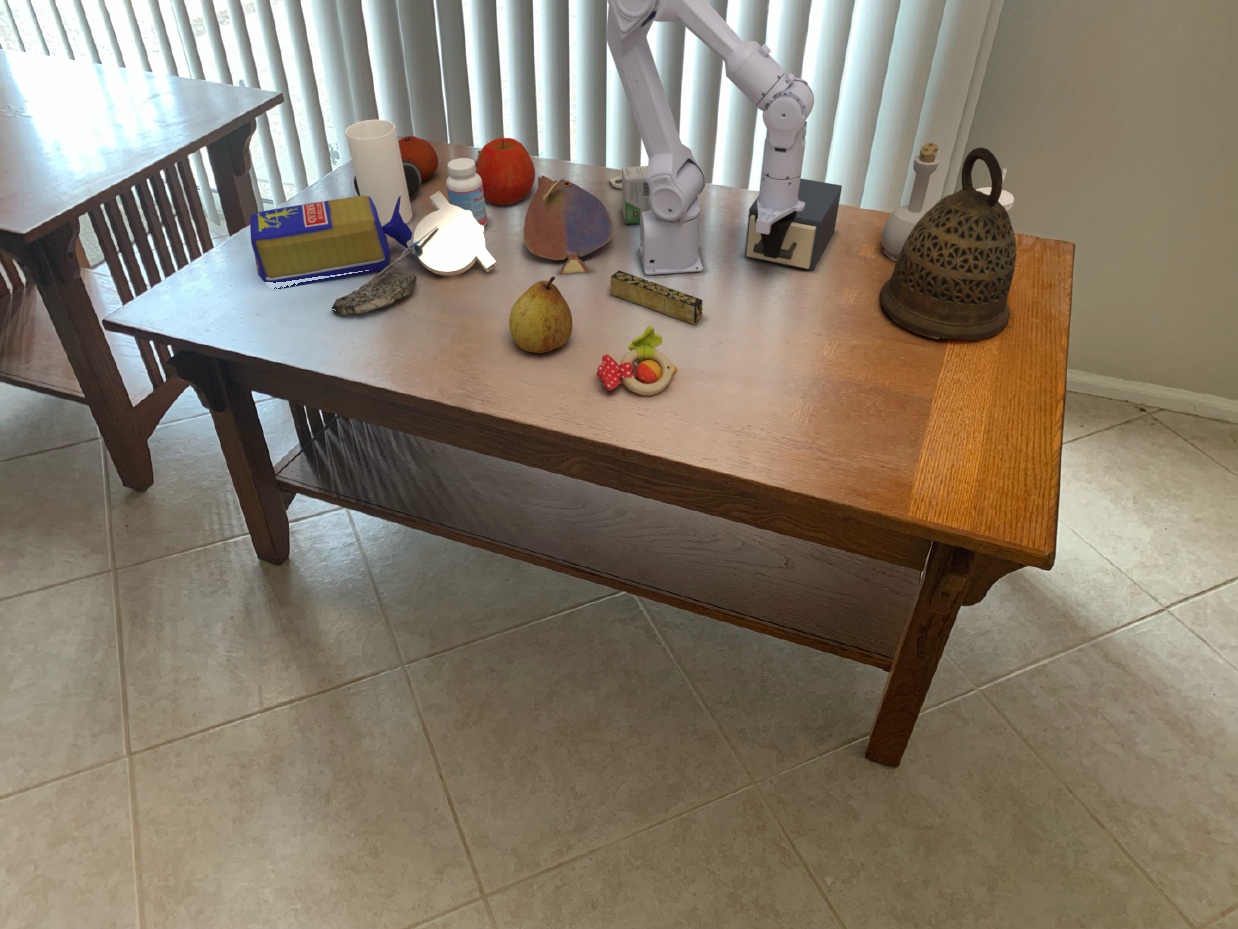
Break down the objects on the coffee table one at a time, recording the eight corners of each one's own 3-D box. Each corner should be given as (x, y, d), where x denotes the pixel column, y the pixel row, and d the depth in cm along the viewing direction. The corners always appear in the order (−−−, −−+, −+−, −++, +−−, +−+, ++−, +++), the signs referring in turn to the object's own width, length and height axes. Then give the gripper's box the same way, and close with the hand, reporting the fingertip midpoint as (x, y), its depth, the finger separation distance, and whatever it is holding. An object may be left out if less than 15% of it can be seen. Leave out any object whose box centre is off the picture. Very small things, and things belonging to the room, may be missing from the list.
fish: (514, 152, 139) (606, 144, 140) (520, 200, 151) (604, 193, 152) (525, 255, 133) (621, 247, 134) (530, 297, 144) (618, 289, 146)
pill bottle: (486, 232, 149) (477, 170, 142) (451, 233, 149) (440, 171, 142) (489, 216, 154) (481, 155, 146) (455, 217, 154) (445, 156, 146)
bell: (973, 388, 129) (1024, 285, 134) (1030, 294, 105) (1088, 173, 110) (856, 339, 134) (909, 242, 139) (885, 239, 110) (947, 126, 115)
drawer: (801, 282, 134) (806, 242, 130) (737, 268, 138) (741, 229, 133) (828, 233, 145) (834, 195, 141) (768, 222, 149) (773, 184, 144)
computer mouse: (348, 167, 155) (348, 175, 152) (415, 153, 156) (417, 160, 153) (361, 205, 159) (361, 212, 156) (426, 190, 161) (427, 198, 157)
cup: (422, 213, 155) (405, 125, 144) (390, 233, 150) (370, 142, 139) (388, 203, 158) (370, 115, 147) (356, 221, 153) (334, 132, 142)
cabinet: (813, 270, 138) (821, 221, 133) (744, 256, 142) (749, 208, 136) (834, 232, 147) (842, 185, 141) (768, 220, 151) (774, 173, 145)
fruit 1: (387, 188, 163) (378, 146, 157) (403, 167, 169) (395, 127, 164) (431, 190, 162) (424, 149, 156) (446, 170, 168) (439, 129, 162)
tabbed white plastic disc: (508, 252, 138) (453, 280, 133) (496, 280, 145) (443, 307, 139) (452, 182, 139) (395, 206, 134) (442, 212, 146) (388, 237, 140)
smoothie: (999, 262, 139) (1026, 180, 130) (958, 258, 140) (981, 176, 131) (995, 242, 144) (1020, 162, 134) (955, 239, 145) (977, 159, 135)
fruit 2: (502, 338, 126) (492, 267, 117) (557, 319, 129) (551, 248, 121) (527, 370, 121) (519, 298, 112) (584, 349, 124) (580, 278, 115)
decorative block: (702, 318, 129) (703, 298, 127) (694, 326, 128) (695, 305, 125) (619, 288, 136) (618, 268, 133) (610, 295, 134) (609, 275, 132)
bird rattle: (694, 349, 116) (642, 312, 118) (645, 393, 110) (591, 354, 112) (683, 379, 121) (633, 343, 123) (635, 423, 115) (584, 384, 117)
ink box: (622, 212, 154) (686, 207, 155) (625, 225, 151) (691, 220, 151) (621, 166, 148) (688, 161, 149) (624, 178, 145) (693, 174, 146)
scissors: (382, 275, 130) (378, 271, 129) (362, 293, 136) (358, 289, 136) (440, 228, 137) (436, 223, 137) (419, 247, 144) (415, 243, 143)
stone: (325, 302, 131) (332, 318, 133) (360, 314, 126) (367, 331, 128) (392, 256, 138) (398, 272, 140) (427, 266, 133) (433, 282, 135)
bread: (262, 265, 143) (241, 207, 135) (411, 239, 148) (399, 182, 141) (263, 297, 136) (242, 238, 128) (420, 269, 141) (408, 211, 134)
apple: (534, 210, 155) (529, 152, 148) (474, 210, 155) (466, 153, 148) (539, 183, 163) (534, 127, 155) (482, 183, 163) (474, 128, 156)
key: (605, 182, 161) (614, 173, 164) (605, 187, 161) (614, 178, 164) (666, 192, 157) (673, 182, 160) (666, 197, 158) (673, 187, 161)
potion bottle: (941, 251, 142) (970, 144, 130) (914, 272, 138) (941, 163, 125) (894, 234, 147) (918, 129, 134) (866, 253, 142) (888, 147, 130)
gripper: (794, 196, 118) (782, 283, 127) (821, 156, 128) (808, 240, 137) (745, 188, 120) (737, 273, 130) (775, 149, 130) (766, 231, 139)
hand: (771, 255), depth 134 cm, fingers closed, pressing on drawer
